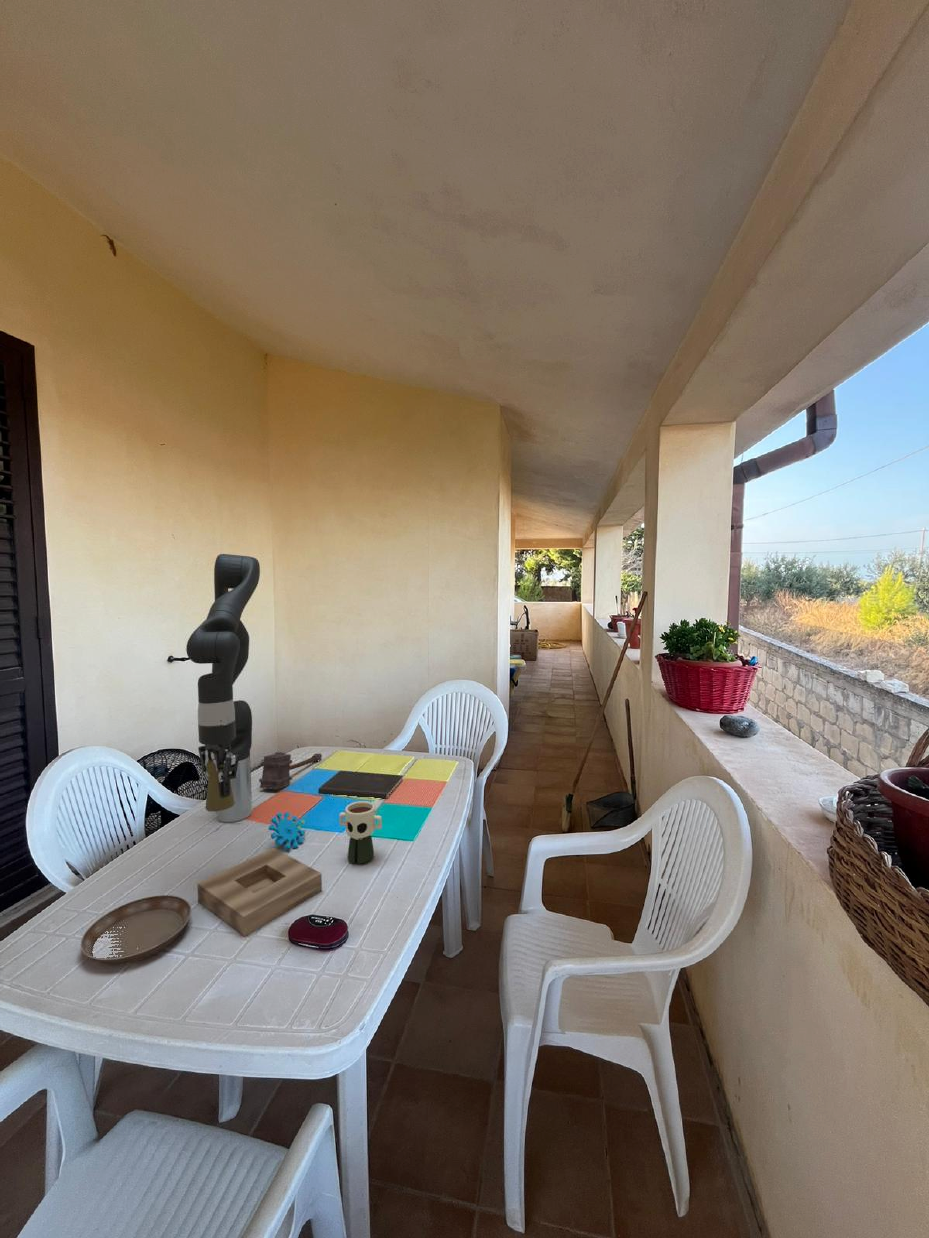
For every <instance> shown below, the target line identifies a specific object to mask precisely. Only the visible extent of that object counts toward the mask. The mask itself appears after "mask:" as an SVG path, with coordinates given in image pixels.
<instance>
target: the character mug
mask: <svg viewBox="0 0 929 1238" xmlns="http://www.w3.org/2000/svg"><path fill="white" fill-rule="evenodd" d="M344 810H345V812H340V813H339V819H338V820H339V821H338V822H339V825H340V826H341V827H345V828H344V829H345V832H346V834H347V836H348V837H349V843H348V848H347V849H348V850H347V859H348V861H349V862H350V863H352V864H353V863H354V864H355V860H357V864H364V863H367V862H370V861H371V860H372V859H373V857H374V854H375V850H374V844H373V838H372V834H373V833H374V832H375V830H381V829H382V827H383V823H382V820H383V819H382V816H381V815H376V806H375V804H374V803H372V802H371V801H368V800H367V801H366V800H365V801H364V800H362V801H361V800H360V801H354V802H351V803H350V804H348V805H346V807H345V809H344ZM344 817H345V819H344ZM376 820H377V824H376Z"/></svg>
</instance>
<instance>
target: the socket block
mask: <svg viewBox="0 0 929 1238" xmlns="http://www.w3.org/2000/svg"><path fill="white" fill-rule="evenodd" d="M322 880H323V878H322V872H319V871H318V870H316V869H314V868H312V867H311V866H308V865H307V864H305V863H303V862H301V861H299V860H297V859H295V858H293V857H292V856H290V855H288V854H286V853H284V852H282V851H281V850H279V849H277V848H275V847H272V848H270V849H268V850H266V851H264V852H262V853H260V854H257V855H256V856H253V857H251V858H249V859H247V860H245V861H242V862H241V863H238V864H236V865H234V866H231V867H230V868H227V869H226V870H223V871H221V872H218V873H217V874H215V875H212V876H210V877H208V878H206V879H204V880H202V881H200V882H197V884H196V885H197V902H198V903H199V904H201V905H202V906H203V907H205V908H206V909H207V910H208V911H210V912H211V913H213V914H214V915H216V916H217V918H219V919H220V920H221V921H223V922H225V924H226V925H228V926H230V927H231V928H233V930H234V931H236V932H237V933H239V934H240V935H242V936H243V937H247V936H248V935H250V934H251V933H254V932H255V931H257V930H259V929H260V928H262V927H263V926H265V925H267V924H268V923H270V922H272V921H274V920H275V919H277V918H278V917H281V916H282V915H284V914H285V913H287V912H289V911H290V910H292V909H294V908H295V907H297V906H299V905H300V904H303V903H304V902H306V901H307V900H309V899H310V898H312V897H314V896H315V895H317V894H319V893H321V892H322V891H323V889H322V888H323V887H322V885H323V884H322Z"/></svg>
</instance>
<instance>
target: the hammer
mask: <svg viewBox="0 0 929 1238" xmlns="http://www.w3.org/2000/svg"><path fill="white" fill-rule="evenodd" d="M291 757H292V755H291V754H289V753H288V754H287V753H286V754H285V753H279V752H278V753H274V754H273V753H272V754H270V755H269V754H268V755H264V757H263V761H262V762H261V764H260V765H261V766H262V767H263V768H262V775H261V778H259V779H258V781H259V783H260V785H259V788H260V789H267V790H279V789H282V788H286V787H288V786H291V783H290V782H291V781H292V779H293V778H292V777H293V776H291V775H290V771H291V770H295V769H298V768H301V767H303V766H306V765H309V764H311V763H313V762H318V761H317V760H320V761H321V759H322V758H323V756H322V753H318V752H317V753H314V754H313V755H312V756H311V757H309V758H308V759H307V758H306V759H305V760H302V761H300V762H297V763H294V764H292V763H293V760H292V759H291ZM321 757H322V758H321Z"/></svg>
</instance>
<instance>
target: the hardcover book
mask: <svg viewBox="0 0 929 1238" xmlns="http://www.w3.org/2000/svg"><path fill="white" fill-rule="evenodd" d="M403 777H404V775H401V774H389V773H377V772H374V773H373V772H363V771H351V770H339V771H338V772H337V773H336V774H334V775H333V776H332V777H330V778H329V779H328V780H326V781H325V783H324V784H322V785H321V786H319V788H318V790H317V791H318V794H319V795H327V794H331V795H330V796H338V795H347V796H346V797H349V796H357V797H356V798H360V797H374V798H382V799H388V798H389V797H390V795H391V794H392V793H393V792H392V790H394V791H395V789H396V788H397V787H396V785H397V784H398V783H399V781H400V780H401V779H402V780H403ZM395 787H396V788H395ZM394 788H395V789H394ZM391 792H392V793H391ZM332 794H333V795H332ZM389 794H390V795H389ZM387 797H388V798H387ZM382 799H381V800H382Z"/></svg>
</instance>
